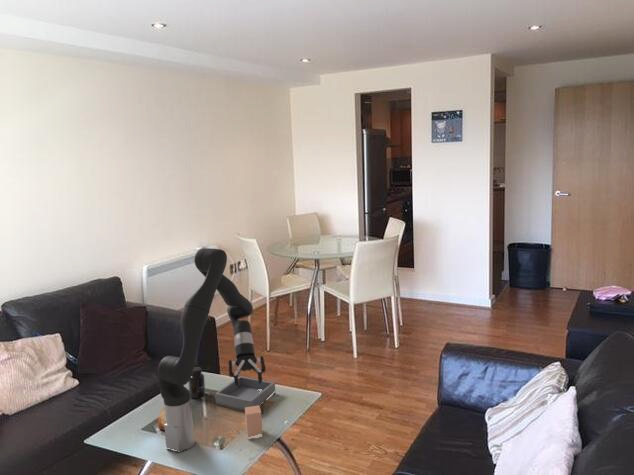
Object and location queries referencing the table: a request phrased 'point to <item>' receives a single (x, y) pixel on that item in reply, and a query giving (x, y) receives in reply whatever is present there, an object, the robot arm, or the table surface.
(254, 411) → the salmon pink block
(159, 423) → the slice of bread
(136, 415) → the table surface
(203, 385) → the supplement bottle
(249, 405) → the charcoal bin
